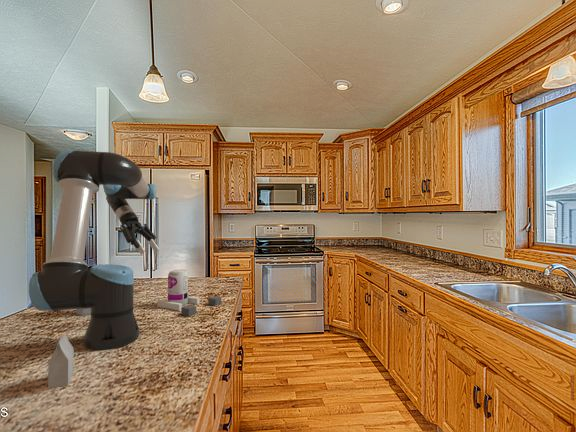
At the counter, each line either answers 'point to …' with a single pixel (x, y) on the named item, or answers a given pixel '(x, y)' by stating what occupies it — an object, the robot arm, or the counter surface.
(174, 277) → the supplement can
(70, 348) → the gray house shaped block
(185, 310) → the chute
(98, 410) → the counter surface
